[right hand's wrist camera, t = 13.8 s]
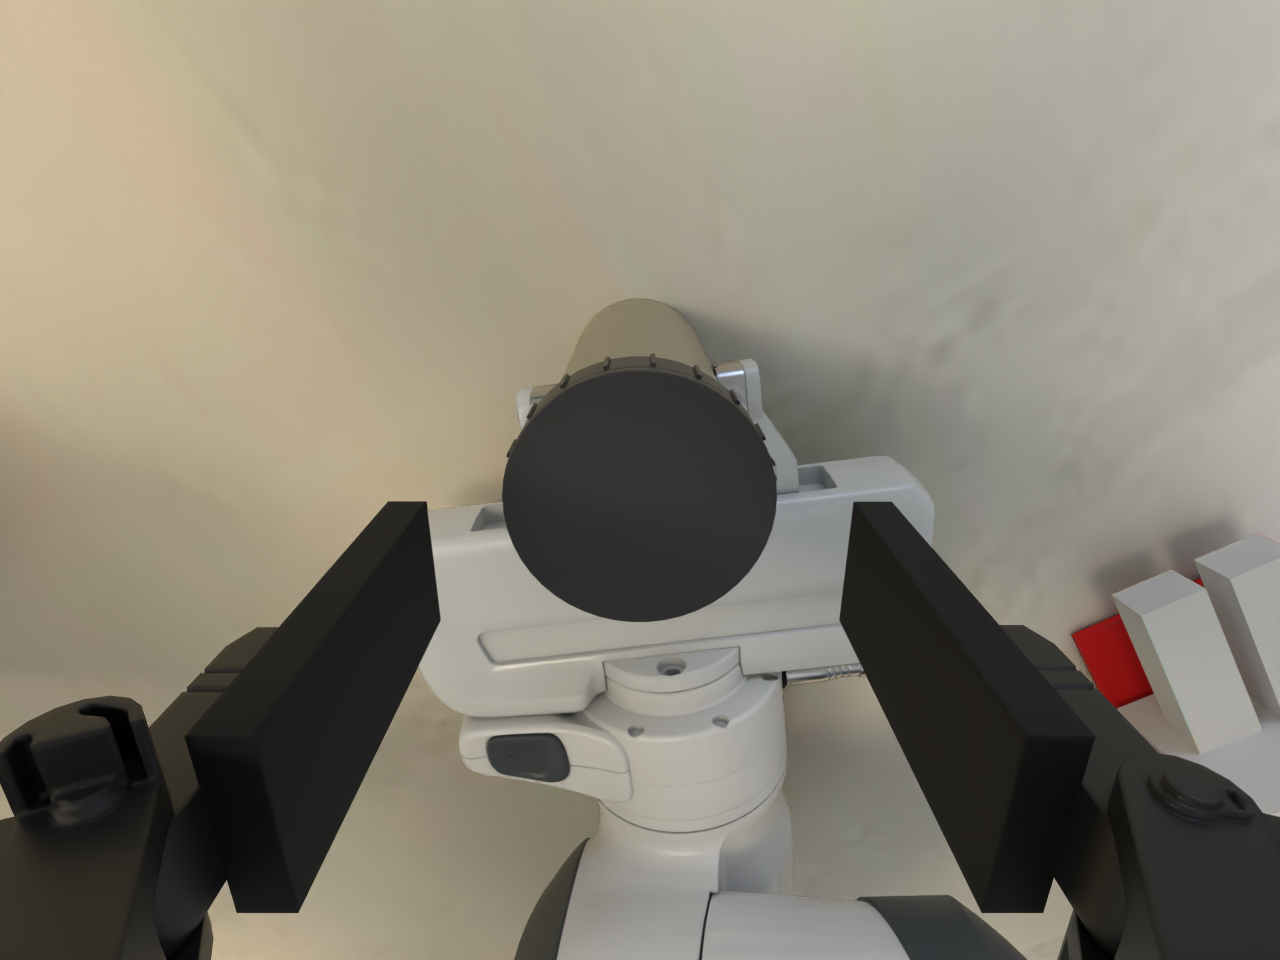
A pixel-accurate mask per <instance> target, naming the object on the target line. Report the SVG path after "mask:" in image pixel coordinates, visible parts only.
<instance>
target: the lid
mask: <svg viewBox="0 0 1280 960" xmlns="http://www.w3.org/2000/svg"><path fill="white" fill-rule="evenodd" d="M526 418H527V421H526V423H525V425H524V427H523V429H522V431H521V432H520V434H519V436H518V438H517V440H516V439H515V440H514V442H513V444H512V445H511V447H510V449H509V451H508V453H507V457H509V459H508V462H507V464H506V469H505V474H504V479H503V491H502V502H503V514H504V518H505V523H506V527H507V531H508V533H509V536H510V539H511V541H512V544H513V546H514V548H515V550H516V552H517V553H518V555H519V557H520V559H521V560H522V562H523V563H524V565H525V566H526V567H527V569H528V570H529V571H530V573H531V574H532V575H533V576H534V577H535V578H536V579H537V580H538V581H539V582H540V583H541V584H542V585H543V586H544V587H545V588H546V589H547V590H549V591H550V592H551V593H552V594H554V595H555V596H556V597H558V598H560V599H561V600H563V601H564V602H566V603H567V604H569V605H571V606H573V607H575V608H577V609H580V610H582V611H584V612H587V613H590V614H592V615H595V616H598V617H602V618H607V619H611V620H616V621H626V622H654V621H662V620H668V619H672V618H677V617H681V616H684V615H687V614H689V613H692V612H695V611H698V610H700V609H702V608H704V607H706V606H708V605H710V604H712V603H713V602H715V601H716V600H718V599H719V598H721V597H723V596H724V595H726V594H727V593H728V592H729V591H730V590H732V589H733V588H734V587H735V586H736V585H738V584H739V583H740V581H741V580H742V579H743V578H744V577H745V576H746V575H747V574H748V573H749V572H750V570H751V569H752V568H753V566H754V565H755V563H756V562H757V561H758V559H759V557H760V556H761V554H762V552H763V550H764V548H765V546H766V544H767V542H768V539H769V536H770V534H771V531H772V528H773V523H774V519H775V514H776V504H777V488H776V481H777V477H776V475H775V473H774V468H773V464H772V461H771V458H770V455H769V453H768V450H767V447H766V445H765V443H764V442H763V441H764V440H766V437H765V435H764V434H763V432H762V430H761V428H760V426H759V424H758V423H756V424H754V423H753V421H752V419H751V417H750V415H749V414H748V412H747V411H746V410H745V408H744V407H743V405H742V404H741V402H740V401H739V399H738V397H737V395H736V393H735V391H734V390H733V389H731V390H730V391H729V390H728V389H727V388H726V387H724V386H723V385H722V384H720V383H719V382H718V381H717V380H715V379H714V378H712V377H711V376H709V375H707V374H705V373H704V372H702V371H700V368H699V366H697V365H694V367H691V366H689V365H686V364H684V363H681V362H677V361H673V360H669V359H665V358H658V357H655V354H652V353H651V355H650V356H629V357H622V358H614V359H610V357H609V356H608V357H605V360H604V361H602V362H599V363H595V364H593V365H590V366H588V367H586V368H583V369H581V370H579V371H577V372H575V373H574V374H572V375H570V376H569V375H568V373H567V374H565V375H564V376H563V379H562V381H561V382H560V383H559V384H557V385H556V386H555V387H554V388H552V389H551V390H550V391H549V392H548V393H547V394H546V395H545V396H544V397H543V398H542V399H541V400H540V402H539V403H538V404H536V403H535V402H534V404H533V405H532V407H531V409H530V411H529V413H528V414H527V416H526Z"/></svg>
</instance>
